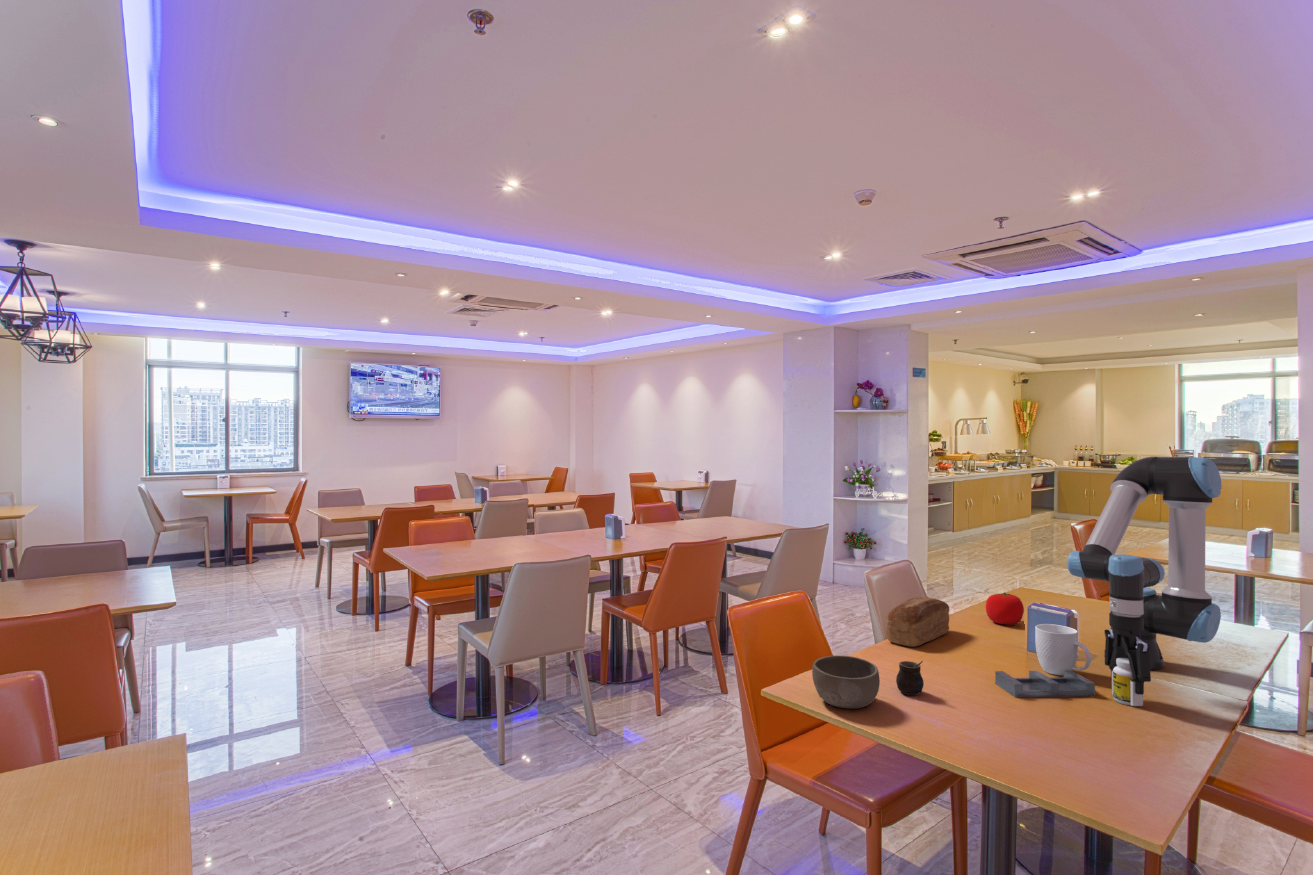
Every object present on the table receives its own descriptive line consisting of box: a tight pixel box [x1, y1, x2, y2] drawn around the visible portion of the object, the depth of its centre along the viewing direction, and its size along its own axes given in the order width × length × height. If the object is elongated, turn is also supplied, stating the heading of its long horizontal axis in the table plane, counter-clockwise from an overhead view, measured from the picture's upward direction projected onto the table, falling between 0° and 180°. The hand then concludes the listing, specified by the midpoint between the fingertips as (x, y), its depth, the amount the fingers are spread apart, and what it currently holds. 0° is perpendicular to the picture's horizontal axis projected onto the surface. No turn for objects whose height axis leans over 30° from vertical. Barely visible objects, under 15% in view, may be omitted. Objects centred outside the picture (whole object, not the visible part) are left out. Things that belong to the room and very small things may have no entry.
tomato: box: [985, 592, 1025, 626], centre depth 251 cm, size 13×14×12 cm
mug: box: [1034, 623, 1092, 677], centre depth 196 cm, size 15×11×13 cm
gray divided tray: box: [994, 670, 1096, 698], centre depth 184 cm, size 22×10×4 cm, turn 91°
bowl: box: [811, 655, 881, 710], centre depth 176 cm, size 17×18×10 cm
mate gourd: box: [895, 660, 925, 697], centre depth 182 cm, size 7×8×10 cm
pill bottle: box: [1112, 658, 1138, 707], centre depth 175 cm, size 6×6×11 cm
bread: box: [886, 596, 950, 647], centre depth 233 cm, size 12×31×14 cm, turn 133°
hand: (1127, 700), depth 175 cm, fingers closed on pill bottle, 6 cm apart
